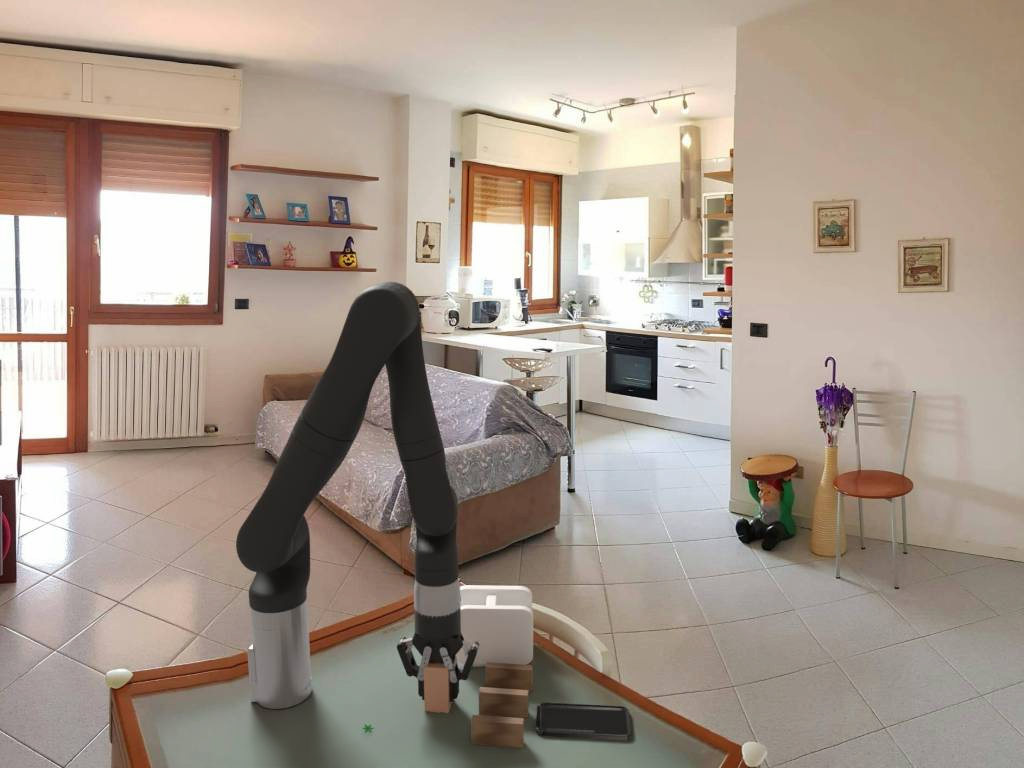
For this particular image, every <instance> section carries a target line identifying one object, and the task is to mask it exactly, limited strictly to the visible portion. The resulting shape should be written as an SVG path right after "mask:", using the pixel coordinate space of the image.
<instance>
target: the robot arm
mask: <svg viewBox="0 0 1024 768" xmlns="http://www.w3.org/2000/svg"><path fill="white" fill-rule="evenodd" d="M420 312H421V311H420V304H419V301H418V299H417V296H416V294H415V293H414V292H413V291H412V290H411V289H410V288H409V287H408V286H406V285H404V284H402V283H400V282H397V281H384V282H380V283H377V284H375V285H373V286H369V287H368V288H366V289H364V290H362V291H361V292H360V293H358V295H357V296H356V297H355V298H354V300H353V302H352V304H350V308H349V310H348V313H347V316H346V319H345V322H344V324H343V327H342V329H341V333H340V335H339V338H338V340H337V343H336V346H335V349H334V351H333V354H332V356H331V358H330V361H329V362H328V364H327V366H326V367H325V369H324V371H323V372H322V374H321V376H320V378H319V379H318V380H317V383H316V384H315V386H314V388H313V390H312V391H311V393H310V395H309V396H308V398H307V401H306V402H305V404H304V405H303V408H302V409H301V412H300V413H299V415H298V418H297V420H296V422H295V423H294V426H293V428H292V430H291V431H290V434H289V437H288V440H286V443H285V446H284V448H283V450H282V451H281V454H280V456H279V459H278V460H277V462H276V465H275V466H274V469H273V472H272V475H271V477H270V478H269V481H268V483H267V485H266V487H265V488H264V490H263V492H262V494H261V496H260V497H259V499H258V501H257V502H256V503H255V505H254V506H253V508H252V509H251V511H250V513H249V514H248V515H247V517H246V519H245V520H244V522H243V523H242V524H241V526H240V527H239V530H238V532H237V535H236V541H235V547H236V548H235V549H236V553H237V557H238V559H239V562H240V563H241V564H242V565H243V566H244V568H246V569H247V570H249V571H250V572H255V576H254V578H253V579H252V582H251V584H250V586H249V589H248V604H249V615H250V616H249V618H250V629H251V630H250V631H251V632H250V633H251V645H250V646H249V647H248V648H247V666H248V667H247V668H248V677H249V678H248V680H249V693H250V702H251V703H252V702H253V703H257V704H258V705H260V706H262V707H264V708H267V709H272V710H279V709H280V710H281V709H282V710H283V709H287V708H290V707H294V706H297V705H299V704H301V703H302V702H304V701H305V700H306V699H308V698H309V696H310V695H311V693H312V688H313V687H312V686H313V685H312V680H313V679H312V670H311V667H312V665H311V649H310V647H311V646H310V632H309V631H310V629H309V614H308V613H309V612H308V611H309V610H308V594H307V590H308V584H309V582H310V577H311V535H310V528H309V524H308V523H309V522H308V521H307V519H306V517H305V514H306V512H307V510H308V508H309V507H310V505H311V504H312V503H313V501H314V500H315V499H316V497H317V496H318V495H319V494H320V492H321V491H322V490H323V488H325V487H326V485H327V484H328V483H329V481H330V480H331V478H332V477H333V476H334V475H335V473H336V472H337V471H338V469H339V468H340V467H341V465H342V464H343V462H344V460H345V459H346V457H347V456H348V454H349V451H350V449H351V447H352V445H353V444H354V442H355V440H356V438H357V436H358V434H359V431H360V430H361V427H362V425H363V423H364V419H365V416H366V412H367V408H368V404H369V401H370V396H371V393H372V391H373V390H372V389H373V387H374V384H375V382H376V380H377V378H378V376H379V375H380V373H381V372H382V371H383V368H384V366H385V369H386V374H387V379H388V380H387V381H388V387H389V403H390V404H389V406H390V410H389V411H390V422H391V426H392V431H393V437H394V441H395V445H396V449H397V450H396V451H397V453H398V457H399V461H400V464H401V467H402V469H403V473H404V476H405V483H406V491H407V497H408V503H409V506H410V507H409V508H410V512H411V516H412V520H413V521H414V524H415V535H416V544H415V551H414V552H415V553H414V586H413V607H414V608H413V611H414V612H413V613H414V634H413V637H409V638H407V637H405V636H402V637H401V638H399V642H398V643H397V644H396V650H397V653H398V656H399V657H400V660H401V663H402V666H403V668H404V670H405V673H406V675H407V676H408V677H415V678H416V679H417V683H418V684H417V690H418V691H417V692H418V693H417V694H418V696H419V697H421V700H422V701H424V666H428V663H435V662H439V663H442V664H444V665H445V668H448V671H449V678H450V682H449V702H452V703H454V702H455V700H457V699H458V696H459V694H460V681H461V680H462V681H467V680H468V679H469V676H470V673H471V671H472V668H473V667H472V665H473V663H474V660H475V657H476V655H477V651H478V648H479V643H478V642H476V641H475V642H473V643H470V642H468V641H465V640H464V638H463V636H462V634H461V605H460V602H461V595H460V587H461V586H460V579H459V551H458V545H457V530H458V529H457V524H458V523H457V522H458V514H459V509H458V507H459V506H458V505H459V504H458V497H457V496H458V495H457V493H456V491H455V489H454V488H453V486H452V485H451V483H450V479H449V474H448V472H447V462H446V460H447V459H446V452H445V447H444V443H443V440H442V439H443V438H442V435H441V432H440V431H441V430H440V427H439V424H438V419H437V415H436V411H435V407H434V404H433V399H432V394H431V390H430V385H429V381H428V375H427V369H426V364H425V363H426V362H425V356H424V348H423V336H422V335H423V334H422V324H421V322H422V321H421V313H420ZM413 648H415V649H416V650H417V652H418V653H419V654H420V656H421V661H420V663H419V665H418V664H417V661H416V659H415V656H414V654H413ZM461 648H463V649H464V655H465V656H466V657H467V659H466V662H465V664H463V667H462V668H460V667H459V664H458V663H459V662H458V661H457V657H456V654H457V653H458V652H459V650H460V649H461Z"/></svg>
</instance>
